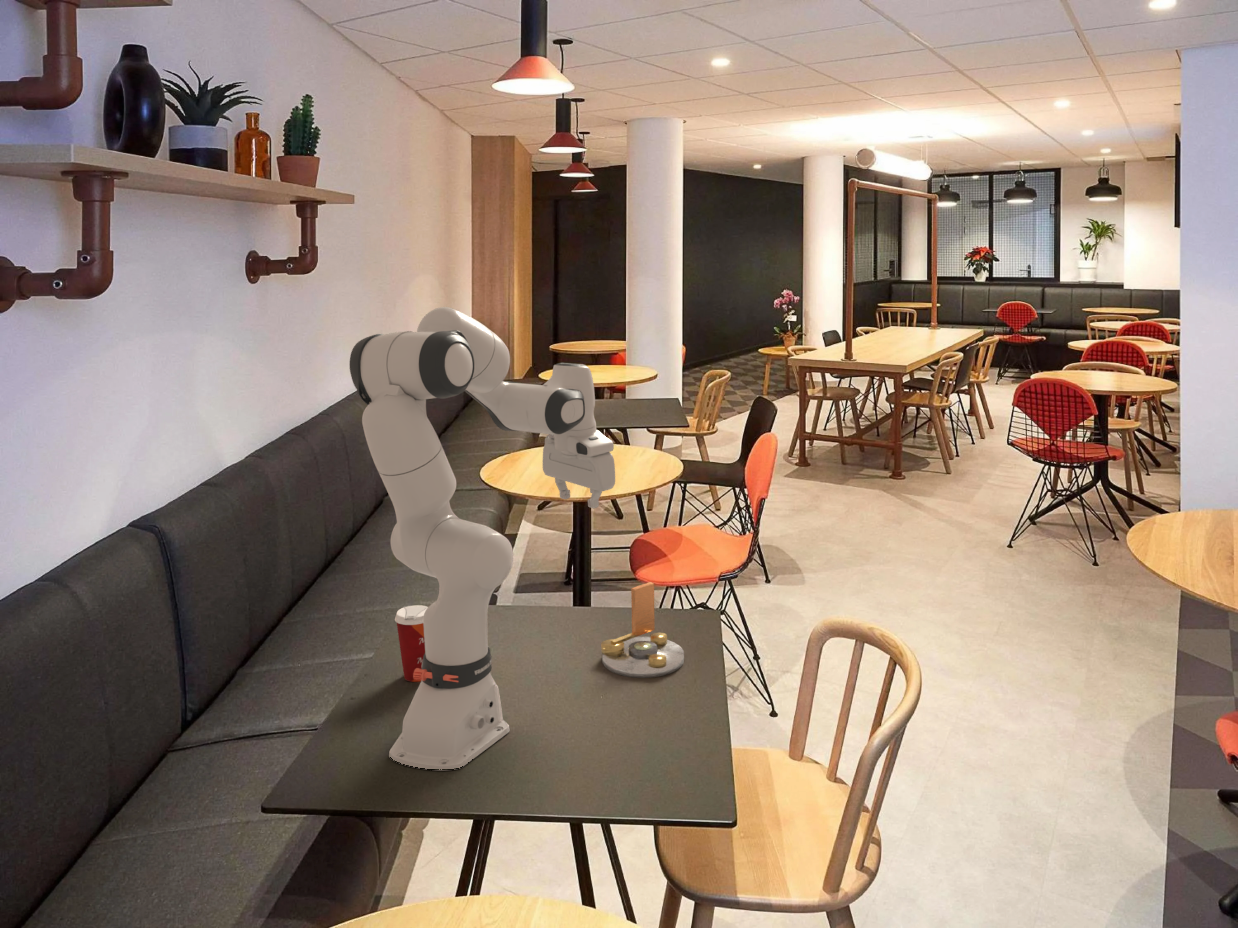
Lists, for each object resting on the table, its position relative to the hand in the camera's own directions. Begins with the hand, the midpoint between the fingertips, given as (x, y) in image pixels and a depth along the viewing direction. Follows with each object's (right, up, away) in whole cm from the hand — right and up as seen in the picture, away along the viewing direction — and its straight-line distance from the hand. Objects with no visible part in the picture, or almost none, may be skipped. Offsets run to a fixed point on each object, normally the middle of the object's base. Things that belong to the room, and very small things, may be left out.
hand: (579, 502), depth 203 cm
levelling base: (+13, -33, -3) cm, 35 cm away
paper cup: (-32, -35, -9) cm, 48 cm away
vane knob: (+11, -30, 0) cm, 32 cm away
